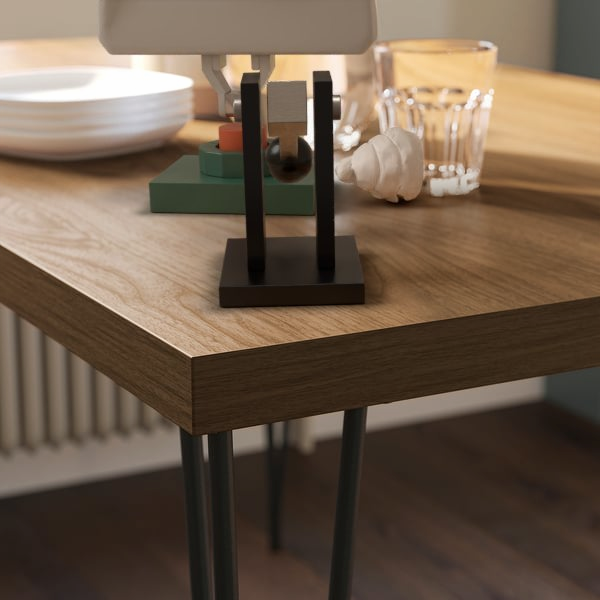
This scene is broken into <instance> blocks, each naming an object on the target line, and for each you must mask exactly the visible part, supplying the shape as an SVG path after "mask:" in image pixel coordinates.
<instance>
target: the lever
mask: <svg viewBox="0 0 600 600" xmlns="http://www.w3.org/2000/svg"><path fill="white" fill-rule="evenodd" d="M307 87H308V85H307V80H306V79H302V80H301V79H297V80H295V79H294V80H291V79H290V80H268V81H267V83H266V117H267V119H266V120H267V121H266V122H267V133H268V138H270V137H274V138H273V139H274V140H273V141H272V142H271V143H270V144H269V146H268V147H267V149H266V152H265V165H266V168H267V170H268V172H269V173H270V174H271V176H272V177H274V178H275V179H276V180H278V181H280V182H283V183H295V182H298V181H300V180H302V179H303V178H305V177H306V176H307V175H308V174H309V172H310V171H311V168H312V165H313V159H314V158H313V156H314V151H313V148H312V147H311V145H310V144H309V142H308V141H307V140H306V139H305V138H303V137H305V136H308V120H309V119H308V90H307V89H308V88H307Z"/></svg>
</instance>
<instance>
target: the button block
mask: <svg viewBox="0 0 600 600" xmlns="http://www.w3.org/2000/svg"><path fill="white" fill-rule="evenodd" d="M274 139H275V138H270V137H267V146H269V144H270V143H271V142H272V141H273V140H274ZM266 149H267V148H264V149H263V166H264V196H265V215H285V216H287V215H291V216H293V215H294V216H297V215H298V216H315V172H314V159H313V165H312V168H311V171H310V172H309V174H308V175H307V176H306V177H305V178H303V179H302V180H300V181H298V182H295V183H283V182H280V181H278V180H276V179H275V178H274V177H272V176H271V174H270V173H269V172H268V170H267V168H266V165H265V152H266ZM313 158H314V155H313ZM148 193H149V194H148V195H149V208H150V210H149V211H150V213H178V214H179V213H180V214H230V215H231V214H232V215H233V214H235V215H236V214H237V215H240V214H241V215H245V193H244V168H243V151H227V150H221V149H219V139H215V140H210V141H206V142H203V143H202V144H201V145H199V146H198V155H197V154H183V155H182V156H181V157H179V158H178V159H176V160H175V161H174V162H173V163H172V164H171V165H169V166H168V167H166V168H165V170H163V171H162V172H161V173H159V174H158V175H157V176H155V177H154V178H153V179H152V180H150V181H149V182H148Z"/></svg>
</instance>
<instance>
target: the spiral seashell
mask: <svg viewBox="0 0 600 600" xmlns="http://www.w3.org/2000/svg"><path fill="white" fill-rule="evenodd" d="M424 163H425V161H424V151H423V146H422V141H421V139H420V137H419V135H418V134H417V133H416V132H412V131H408V130H406V129H405V128H402V127H395V126H394V127H389V128H387V129H386V130H385V131H384V132H383V134H377V135H375V136H373V137H370V139H369V140H368V142H365V143H362V144H361V145H360V146H358V147H357V148H356V149H355V150H354V151H353V153H352V155H350V156H347V157H345V158H343V159H342V160H340V161H339V162H338V163H337V164H336V166H334V174H335V176H336V177H337V180H339V181H341V182H343V183H346V184H352V185H355V186H356V187H358V188H360V189H362V190H363V191H364V192H365V191H367V192H369V193H370V195H371V196H372V197H374V198H376V199H379V200H384V199H385V200H386V201H388V202H391V203H398V202H399V197H400V198H401V199H403V200H405V201H411V200H414V199H416V198H417V197H418V195H419V194H420V193H421V191H422V187H423V184H424V183H423V182H424V175H425V174H424V173H425V165H424ZM398 196H399V197H398Z"/></svg>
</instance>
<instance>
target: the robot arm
mask: <svg viewBox="0 0 600 600" xmlns="http://www.w3.org/2000/svg"><path fill="white" fill-rule="evenodd" d="M96 21H97V22H96V26H97V36H98V37H97V38H98V41H99V43H100V44H101V46H102V47H103V48H104V50H105V51H106V52H107V53H108V54H109V55H111V56H200V57H201V71H202V73H203V74H204V77H205V78H206V80H207V81H208V83H209V84H210V86H211V88H212V89H213V91H214V92H215V94H217V102H218V104H217V105H218V116H219V118H234V112H233V99H234V98H237V97H241V91H240V90H235V89H234V90H233V89H232V88H231V86H230V84H229V82H228V80H227V79H226V77H225V75H224V74H223V71H222V69H224V68H225V67H226V66H227V56H250V65H251V70H252V71H258V72H260V78H261V92H263V91H264V89H265V87H266V86H267V81H270V78H271V76H272V75H273V72H274V71H275V69H276V56H361V55H364V54H366V53H367V52H369V51H370V50H371V49H372V48H373V47H374V45H375V44H376V42H377V40H378V14H377V4H376V0H96ZM261 107H262V108H263V103H262V99H261Z"/></svg>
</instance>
